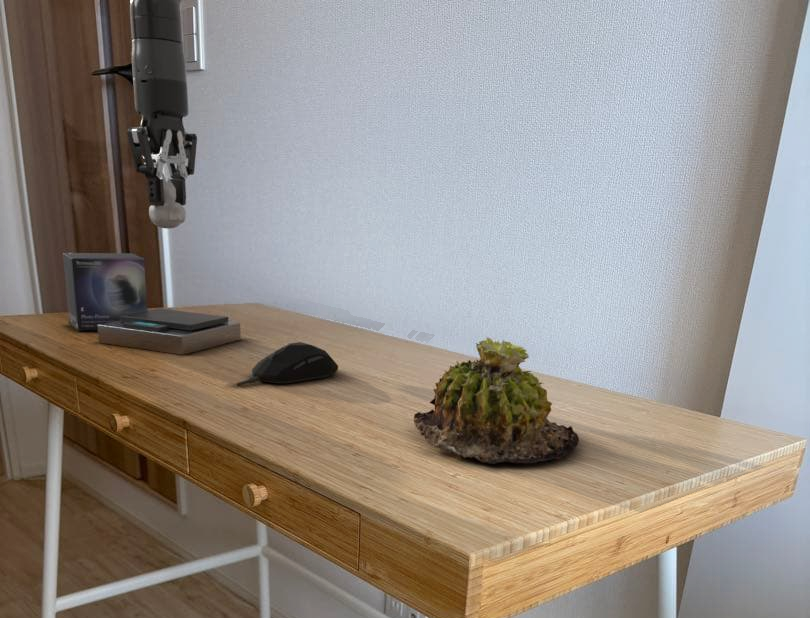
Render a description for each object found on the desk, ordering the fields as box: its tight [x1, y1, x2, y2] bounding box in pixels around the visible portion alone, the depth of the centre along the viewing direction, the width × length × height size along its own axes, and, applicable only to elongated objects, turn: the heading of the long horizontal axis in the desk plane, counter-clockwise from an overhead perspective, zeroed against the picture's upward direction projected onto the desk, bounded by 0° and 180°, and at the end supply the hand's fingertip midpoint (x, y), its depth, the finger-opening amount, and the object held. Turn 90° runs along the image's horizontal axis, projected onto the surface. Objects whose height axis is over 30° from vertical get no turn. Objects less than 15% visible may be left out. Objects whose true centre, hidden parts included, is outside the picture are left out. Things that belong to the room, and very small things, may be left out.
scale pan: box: [120, 308, 229, 331], centre depth 118 cm, size 12×9×1 cm
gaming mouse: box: [236, 341, 339, 387], centre depth 100 cm, size 6×15×4 cm, turn 138°
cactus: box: [413, 336, 580, 465], centre depth 79 cm, size 17×16×10 cm
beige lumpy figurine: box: [148, 172, 186, 229], centre depth 126 cm, size 5×7×8 cm
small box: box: [62, 252, 148, 332], centre depth 124 cm, size 11×6×10 cm, turn 122°
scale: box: [97, 320, 242, 356], centre depth 118 cm, size 14×14×3 cm
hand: (168, 204), depth 127 cm, fingers closed on beige lumpy figurine, 4 cm apart
